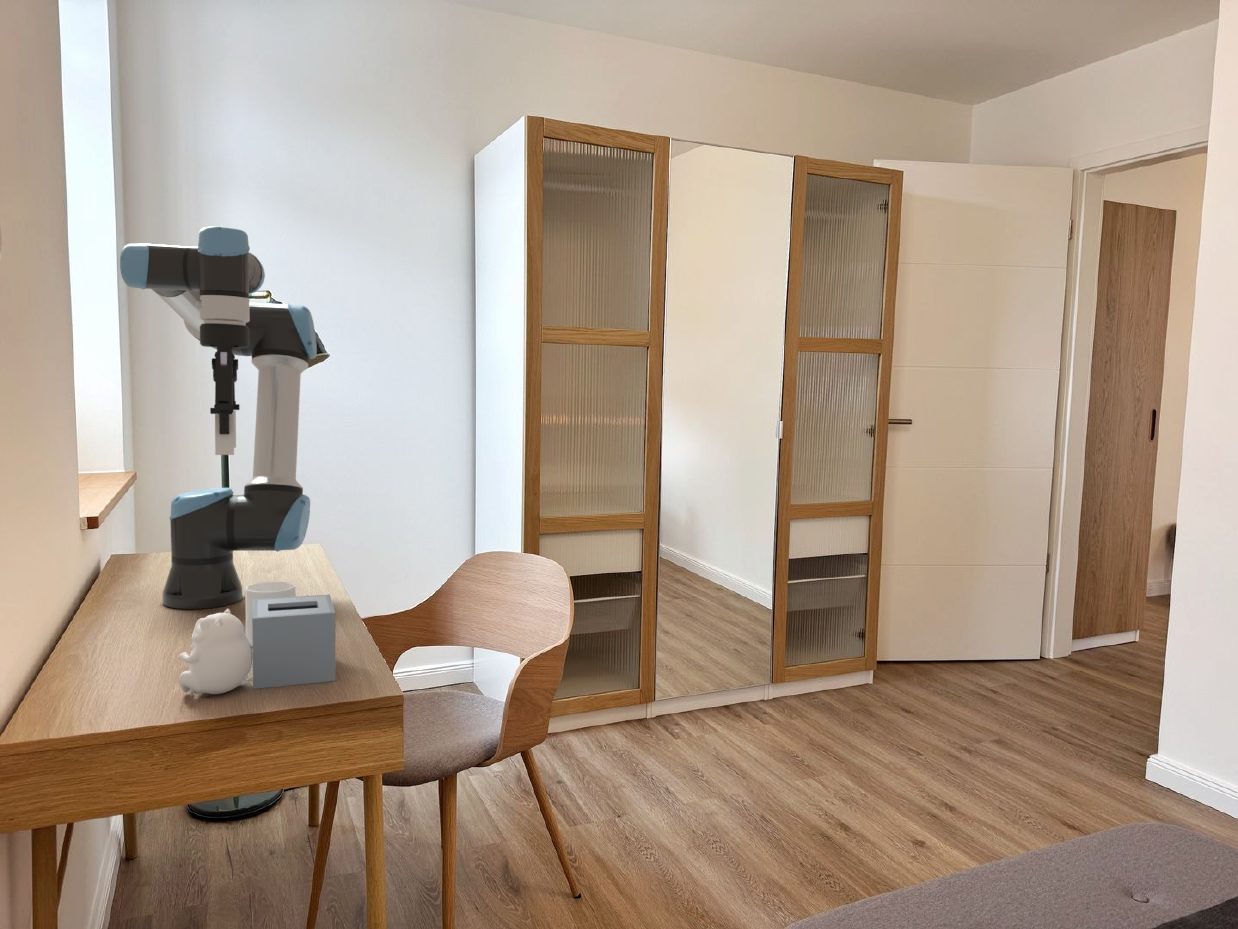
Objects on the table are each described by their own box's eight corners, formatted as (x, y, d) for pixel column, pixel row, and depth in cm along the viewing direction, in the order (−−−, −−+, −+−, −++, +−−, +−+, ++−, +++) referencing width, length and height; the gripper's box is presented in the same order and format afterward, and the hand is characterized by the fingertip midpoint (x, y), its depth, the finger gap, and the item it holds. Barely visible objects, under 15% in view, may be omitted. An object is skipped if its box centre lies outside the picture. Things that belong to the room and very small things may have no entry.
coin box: (253, 664, 144) (252, 599, 143) (329, 657, 148) (329, 594, 147) (253, 689, 133) (252, 618, 132) (335, 681, 137) (335, 612, 136)
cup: (243, 650, 151) (242, 593, 150) (251, 630, 162) (250, 577, 161) (294, 647, 153) (293, 591, 152) (298, 628, 165) (297, 575, 164)
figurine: (265, 680, 137) (264, 605, 136) (240, 703, 127) (239, 623, 126) (200, 678, 137) (199, 604, 135) (171, 701, 127) (169, 621, 126)
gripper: (204, 325, 154) (205, 444, 156) (194, 318, 131) (196, 458, 133) (250, 327, 157) (251, 444, 159) (248, 320, 134) (249, 457, 136)
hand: (226, 451), depth 146 cm, fingers open, 13 cm apart
